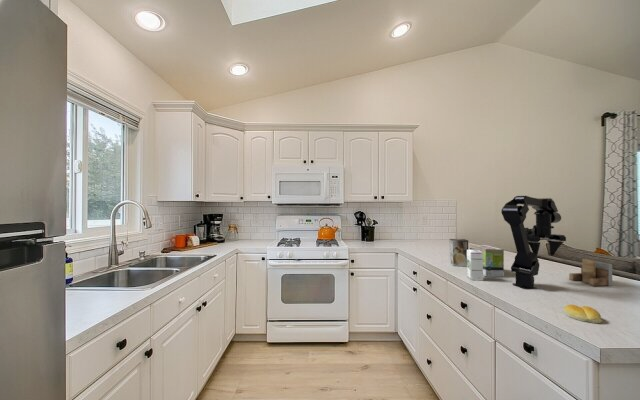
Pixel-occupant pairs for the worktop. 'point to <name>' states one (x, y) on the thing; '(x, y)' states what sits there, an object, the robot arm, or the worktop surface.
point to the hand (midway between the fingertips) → (543, 255)
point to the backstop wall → (606, 267)
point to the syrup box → (475, 265)
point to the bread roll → (582, 313)
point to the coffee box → (458, 252)
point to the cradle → (600, 279)
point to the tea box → (491, 260)
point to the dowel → (588, 270)
